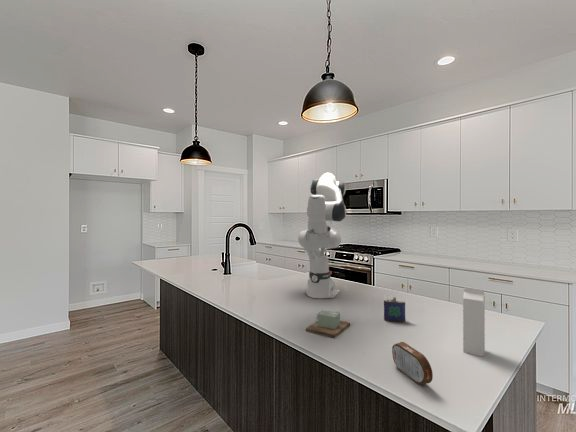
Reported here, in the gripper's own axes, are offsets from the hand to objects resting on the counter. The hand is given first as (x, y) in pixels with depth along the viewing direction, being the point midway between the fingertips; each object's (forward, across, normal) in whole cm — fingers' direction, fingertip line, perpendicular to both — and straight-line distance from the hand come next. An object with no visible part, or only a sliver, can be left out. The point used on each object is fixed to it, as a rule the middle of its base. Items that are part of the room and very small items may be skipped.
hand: (317, 257), depth 142 cm
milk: (+27, -4, -64) cm, 69 cm away
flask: (+28, +11, -33) cm, 45 cm away
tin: (+26, -33, -49) cm, 64 cm away
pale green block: (+26, -12, -12) cm, 31 cm away
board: (+27, -12, -12) cm, 32 cm away
